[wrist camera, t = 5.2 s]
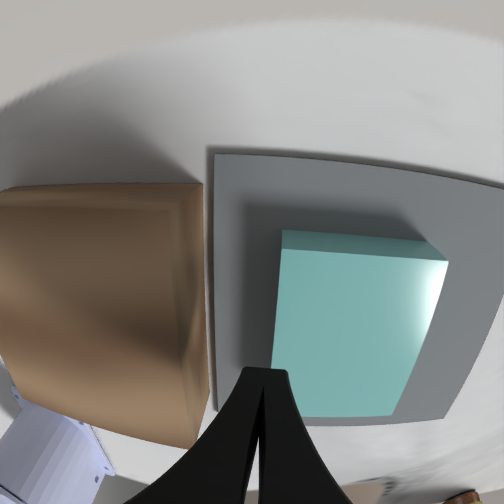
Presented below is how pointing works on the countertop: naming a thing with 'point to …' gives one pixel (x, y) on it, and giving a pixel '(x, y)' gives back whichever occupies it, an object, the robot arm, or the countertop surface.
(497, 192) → the mat
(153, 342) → the block
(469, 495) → the sauce bottle
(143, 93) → the countertop surface
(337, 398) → the tile
